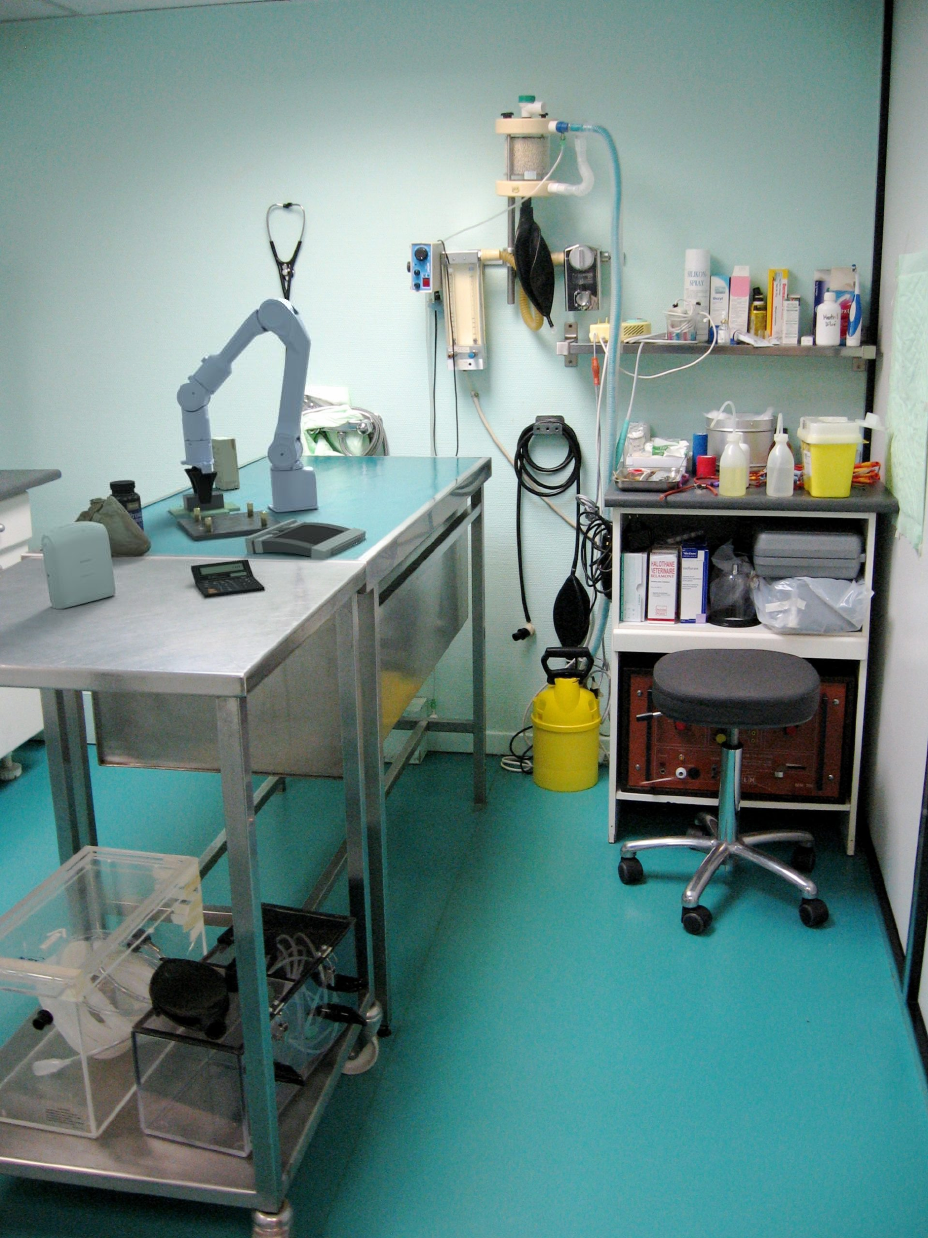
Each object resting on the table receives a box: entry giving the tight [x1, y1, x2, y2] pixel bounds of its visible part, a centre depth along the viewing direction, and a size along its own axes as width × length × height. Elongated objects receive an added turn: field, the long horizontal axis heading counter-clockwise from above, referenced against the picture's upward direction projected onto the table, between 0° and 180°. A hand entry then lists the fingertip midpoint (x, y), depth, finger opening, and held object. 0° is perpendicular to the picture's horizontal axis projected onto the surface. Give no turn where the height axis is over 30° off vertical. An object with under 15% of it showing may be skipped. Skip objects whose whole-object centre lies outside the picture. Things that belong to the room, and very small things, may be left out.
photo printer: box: [41, 521, 117, 610], centre depth 163 cm, size 10×4×12 cm, turn 140°
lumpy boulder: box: [74, 494, 152, 557], centre depth 194 cm, size 11×11×15 cm
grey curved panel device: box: [244, 518, 367, 560], centre depth 197 cm, size 17×5×16 cm
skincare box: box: [211, 436, 241, 491], centre depth 258 cm, size 6×4×12 cm
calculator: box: [190, 558, 266, 599], centre depth 171 cm, size 9×12×3 cm
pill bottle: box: [108, 479, 145, 533], centre depth 206 cm, size 6×6×11 cm
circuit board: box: [168, 490, 241, 518], centre depth 232 cm, size 14×14×4 cm
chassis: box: [177, 502, 282, 542], centre depth 214 cm, size 18×18×4 cm
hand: (203, 501), depth 232 cm, fingers closed on circuit board, 4 cm apart
